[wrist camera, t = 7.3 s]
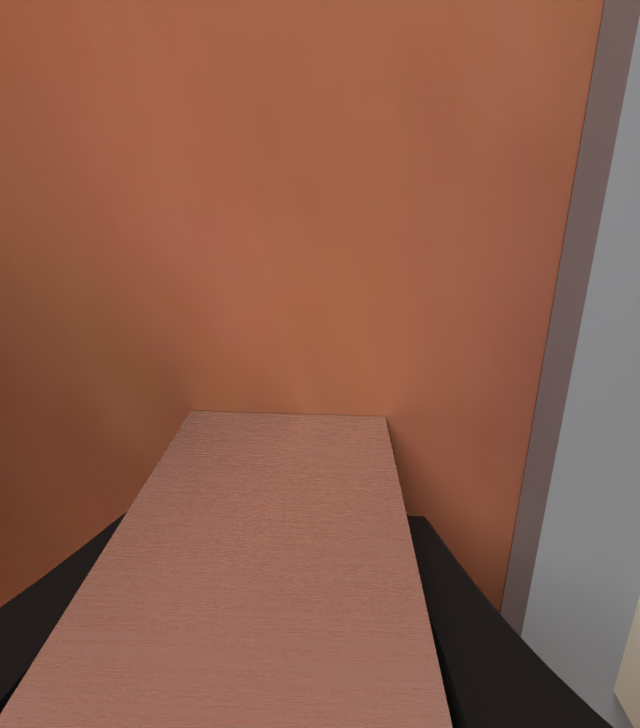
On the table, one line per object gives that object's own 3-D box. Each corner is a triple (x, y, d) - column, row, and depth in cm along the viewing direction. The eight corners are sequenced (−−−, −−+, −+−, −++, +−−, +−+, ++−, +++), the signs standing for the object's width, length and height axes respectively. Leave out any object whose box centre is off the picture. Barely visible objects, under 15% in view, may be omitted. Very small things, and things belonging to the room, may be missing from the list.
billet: (200, 569, 12) (40, 1035, 5) (190, 411, 11) (-39, 775, 4) (374, 575, 12) (423, 1055, 5) (385, 416, 11) (466, 794, 4)
